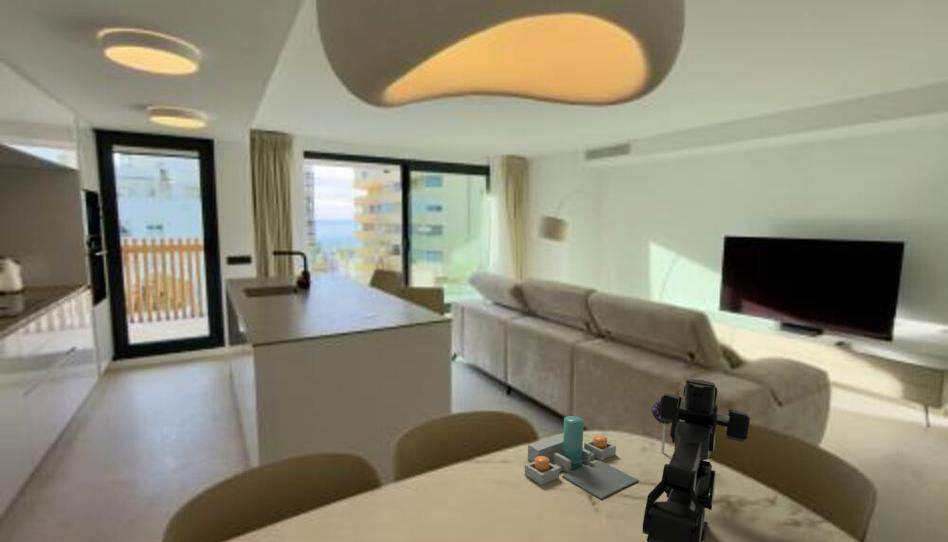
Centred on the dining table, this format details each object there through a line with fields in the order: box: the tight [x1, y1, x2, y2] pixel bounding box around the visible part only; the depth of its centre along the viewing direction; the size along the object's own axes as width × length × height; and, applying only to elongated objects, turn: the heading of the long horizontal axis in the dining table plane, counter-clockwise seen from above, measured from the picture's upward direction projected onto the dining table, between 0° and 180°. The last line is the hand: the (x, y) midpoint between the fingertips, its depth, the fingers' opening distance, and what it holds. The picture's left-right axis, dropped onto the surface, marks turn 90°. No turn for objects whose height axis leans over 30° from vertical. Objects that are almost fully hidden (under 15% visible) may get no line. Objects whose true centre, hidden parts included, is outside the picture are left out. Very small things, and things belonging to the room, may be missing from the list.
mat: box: [561, 459, 639, 500], centre depth 115 cm, size 12×14×1 cm
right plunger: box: [593, 434, 608, 449], centre depth 128 cm, size 4×4×3 cm
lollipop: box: [651, 399, 671, 454], centre depth 129 cm, size 7×7×15 cm
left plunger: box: [535, 456, 551, 473], centre depth 116 cm, size 4×4×3 cm
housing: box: [524, 432, 617, 486], centre depth 124 cm, size 12×28×4 cm, turn 126°
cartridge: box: [562, 415, 585, 470], centre depth 122 cm, size 5×5×12 cm
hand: (706, 408), depth 117 cm, fingers open, 9 cm apart
